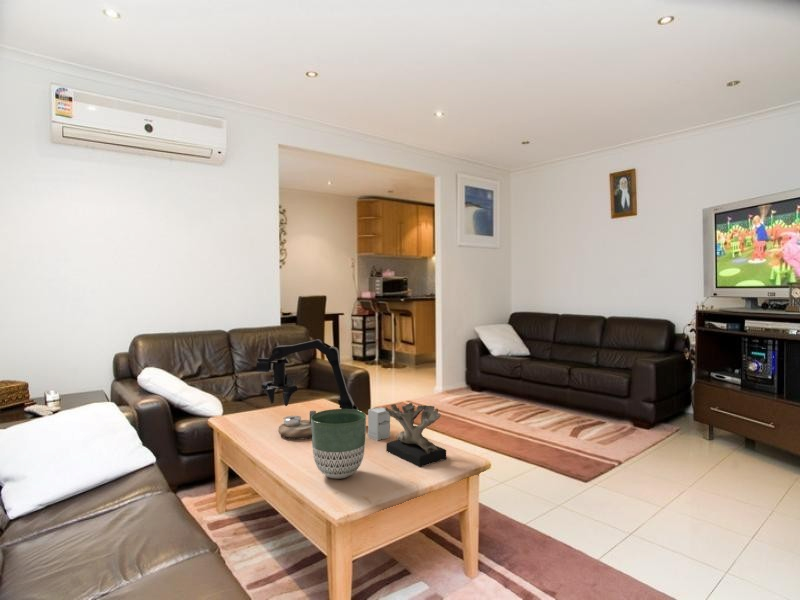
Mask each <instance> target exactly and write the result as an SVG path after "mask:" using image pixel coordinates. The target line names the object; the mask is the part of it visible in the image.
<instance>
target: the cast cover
mask: <svg viewBox="0 0 800 600" xmlns="http://www.w3.org/2000/svg"><path fill="white" fill-rule="evenodd" d="M301 420H302V417H301V416H300V415H288V416H286V417H283V424H284V426H286V427H295V426H299V425H301Z"/></svg>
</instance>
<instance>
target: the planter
mask: <svg viewBox="0 0 800 600" xmlns="http://www.w3.org/2000/svg"><path fill="white" fill-rule="evenodd" d="M366 426H367V414H366V413H365V412H364V411H361V410H359V409H358V410H353V409H341V408H335V409H334V408H333V409H325V410H321V411H318V412H316V413H315V414H313V415H312V416H311V429H312V437H311V442H312V443H311V445H312V453H313V460H314V463H315V465H316V468H317V469H318V470H319V471H320V473H322V474H323V475H324V476H325V477H328V478H330V479H335V480H337V479H339V480H340V479H345V478H348V477H350V476H351V475H353V474H355V472H357V471H358V470H359V468H360V467H361V466H362V462H363V460H364V455H365V451H366V450H365V446H366Z"/></svg>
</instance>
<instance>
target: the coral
mask: <svg viewBox="0 0 800 600" xmlns="http://www.w3.org/2000/svg"><path fill="white" fill-rule="evenodd" d="M383 408H384V409H385V411H386V413H388V414H389V415H390V417H392V418H393V419H395V420H396V421H397V422H398V423H399V424H400V425H401V427H402V428H403V430H404V431H401V432H400V433H398V434H397V435H396V438H397V439H394V440H391V441H388V442H386V445H385V449H386V450H385V452H387V451H388V452H387V453H389V452H390V453H389V454H391V455H393V456H395V457H397V458H400V459H402V460H404V461H406V462H407V463H410V464H412V465H414V466H417V467H419V468H422V467H425V466H428V465H430V464H434V463H437V462H441V461H444V460H446V459H447V449H445V448H443V447H441V446H437V445H435V443H433V442H431V441H429V439H427V438H426V437H425V436H423V434H422V433H423V431H424V430H425V429H426V428H427V427H429V426H431V425H433V424H434V423H435V422H437V420H439V419H440V417H441V416H442V415H441V413H439V408H435V405H420V404H419V405H418V406H417V407H416V405H414V404H413V403H412V402H410V403H407V404H405V405H402V406H401V410H402V411H401V410H400V408H399V407H397V404H394V403H393V404H390V408H388V407H387V406H384V407H383ZM415 409H416V410H415ZM420 413H421V414H420ZM419 415H421V416H420V417H421V418H420V424H418V425H414V424H415V419H417V417H418V416H419Z"/></svg>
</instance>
